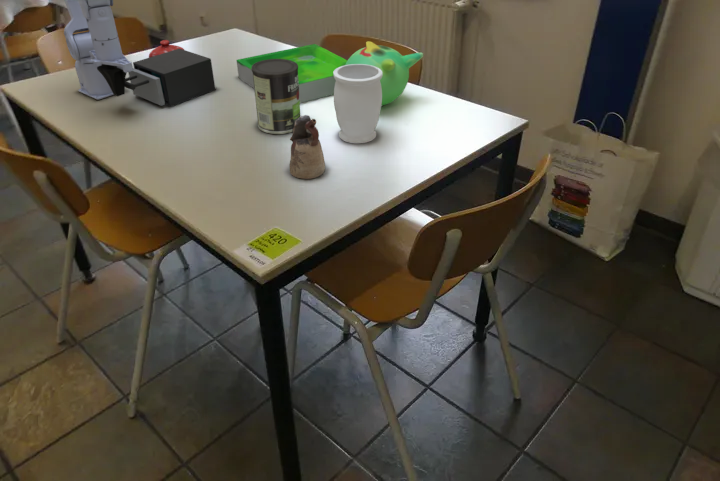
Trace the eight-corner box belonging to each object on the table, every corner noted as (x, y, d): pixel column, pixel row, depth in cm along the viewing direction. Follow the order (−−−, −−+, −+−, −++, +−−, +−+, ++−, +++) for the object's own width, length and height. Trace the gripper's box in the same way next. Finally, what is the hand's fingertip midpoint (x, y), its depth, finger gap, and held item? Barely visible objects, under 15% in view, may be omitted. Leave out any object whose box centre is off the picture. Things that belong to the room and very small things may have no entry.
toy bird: (366, 85, 154) (367, 29, 146) (422, 97, 147) (426, 40, 139) (330, 107, 142) (328, 49, 133) (389, 123, 135) (391, 62, 126)
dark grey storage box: (170, 106, 142) (164, 74, 137) (140, 94, 148) (132, 62, 143) (215, 89, 151) (210, 58, 146) (185, 78, 157) (179, 48, 152)
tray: (363, 86, 153) (363, 68, 150) (281, 107, 142) (279, 88, 139) (315, 60, 170) (314, 43, 167) (238, 77, 158) (236, 59, 155)
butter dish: (177, 79, 157) (171, 48, 152) (141, 75, 159) (134, 44, 154) (198, 66, 166) (193, 36, 160) (163, 61, 168) (157, 32, 163)
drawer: (142, 112, 137) (136, 85, 133) (115, 100, 143) (108, 74, 139) (204, 89, 149) (200, 64, 145) (176, 79, 154) (171, 55, 150)
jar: (346, 150, 124) (346, 83, 115) (327, 131, 131) (325, 67, 122) (389, 140, 128) (391, 75, 119) (367, 122, 135) (368, 60, 126)
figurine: (309, 159, 120) (306, 105, 113) (332, 170, 116) (330, 116, 109) (283, 170, 116) (278, 116, 109) (306, 183, 112) (303, 127, 105)
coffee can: (306, 117, 137) (303, 60, 129) (294, 136, 129) (290, 76, 121) (266, 114, 139) (260, 56, 130) (251, 132, 131) (244, 72, 122)
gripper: (71, 35, 130) (87, 92, 138) (106, 48, 122) (122, 107, 130) (99, 28, 134) (113, 83, 142) (135, 40, 127) (148, 98, 135)
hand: (119, 94), depth 137 cm, fingers closed, pressing on drawer
